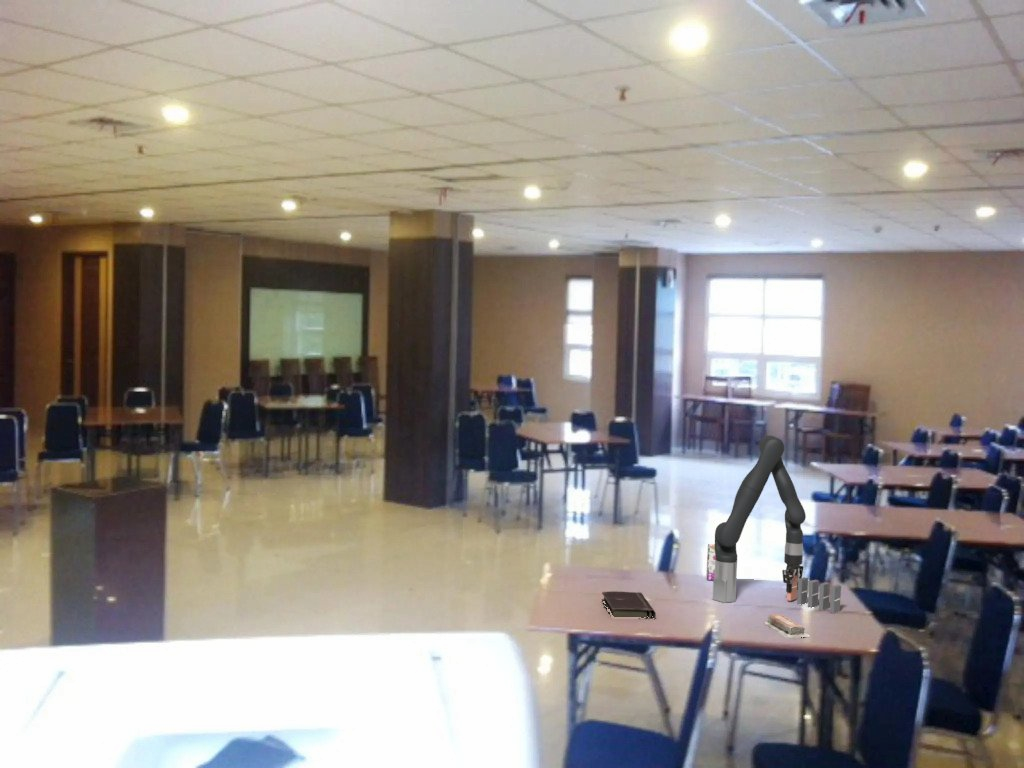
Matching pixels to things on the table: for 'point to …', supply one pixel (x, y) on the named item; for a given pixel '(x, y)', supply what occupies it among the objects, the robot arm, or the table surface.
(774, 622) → the packaged product
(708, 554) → the candy bar box
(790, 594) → the domino
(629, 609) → the diary
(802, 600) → the domino
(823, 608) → the domino
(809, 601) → the domino
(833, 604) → the domino
